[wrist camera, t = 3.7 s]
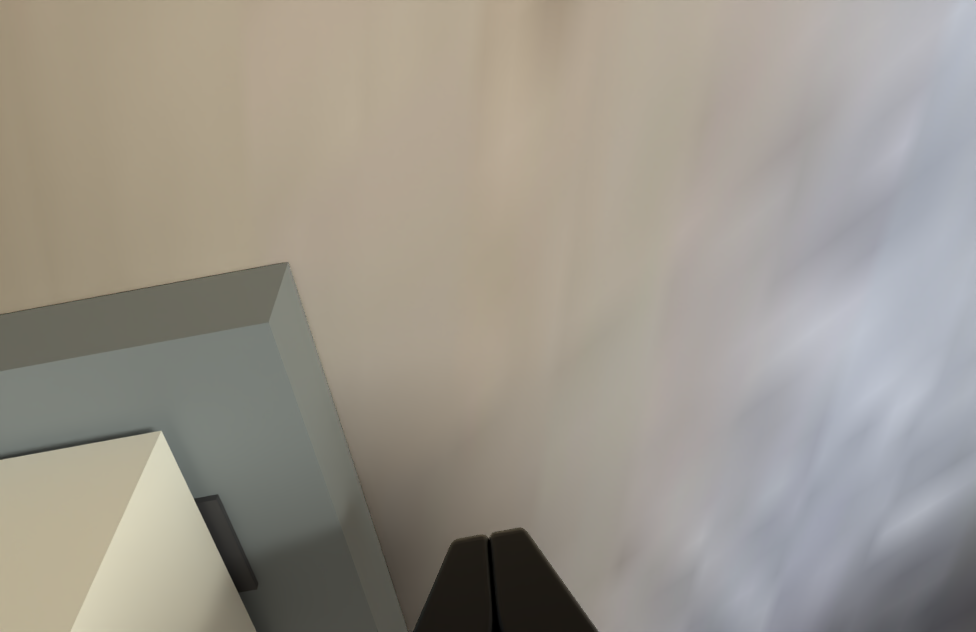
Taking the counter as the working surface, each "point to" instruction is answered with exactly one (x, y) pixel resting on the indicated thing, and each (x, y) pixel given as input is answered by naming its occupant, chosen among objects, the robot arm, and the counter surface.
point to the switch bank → (215, 431)
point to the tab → (109, 544)
